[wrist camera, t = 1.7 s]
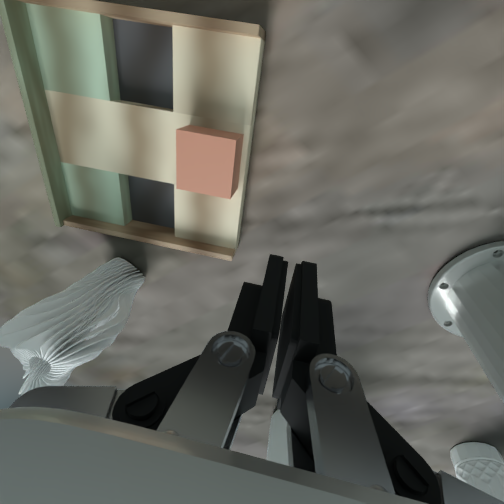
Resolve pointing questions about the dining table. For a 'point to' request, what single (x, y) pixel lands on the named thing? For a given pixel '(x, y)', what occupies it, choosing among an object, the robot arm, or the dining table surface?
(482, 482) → the white cup
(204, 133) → the block
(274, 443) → the alcohol
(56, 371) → the shell sculpture
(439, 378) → the dining table surface
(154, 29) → the box
